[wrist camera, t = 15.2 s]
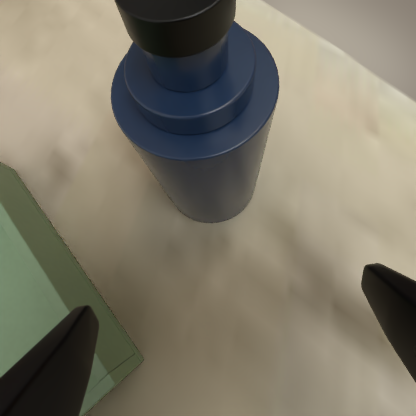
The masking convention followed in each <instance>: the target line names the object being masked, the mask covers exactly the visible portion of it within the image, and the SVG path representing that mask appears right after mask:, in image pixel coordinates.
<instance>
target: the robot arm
mask: <svg viewBox="0 0 416 416" xmlns="http://www.w3.org/2000/svg"><path fill="white" fill-rule="evenodd" d="M361 286H362V290H363V292H364V294H365V296H366V298H367V300H368V302H369V304H370V306H371V308H372V310H373V312H374V314H375V316H376V318H377V320H378V322H379V324H380V325H381V327H382V329H383V331H384V333H385V335H386V337H387V338H388V340H389V342H390V343H391V345H392V346H393V348H394V350H395V351H396V353H397V354H398V356H399V357H400V359H401V360H402V362H403V364H404V365H405V367H406V368H407V370H408V371H409V373H410V374H411V376H412V377H413V379H414V381H415V382H416V281H414V280H412V279H410V278H408V277H406V276H404V275H402V274H400V273H398V272H396V271H394V270H392V269H390V268H388V267H386V266H384V265H382V264H379V263H375V264H368V265H366V266H365V267H364V270H363V276H362V282H361ZM98 332H99V321H98V319H97V317H96V315H95V313H94V311H93V309H92V307H91V306H90V305H83V306H78V307H76V308H74V309H73V310H72V311H71V312H70V313H69V314H68V315H67V316H66V317H65V318H64V319H62V320H61V321H60V322H59V323H58V324H57V325H56V326H55V327H54V328H53V329H52V330H51V331H50V332H49V333H47V334H46V335H45V336H44V337H43V338H42V339H41V340H40V341H39V342H38V343H37V344H36V345H35V346H34V347H33V348H31V349H30V350H29V351H28V352H27V353H26V354H25V355H24V356H23V357H22V358H21V359H20V360H19V361H18V362H16V363H15V364H14V365H13V366H12V367H11V368H10V369H9V370H8V371H7V372H6V373H5V374H4V375H3V376H1V377H0V416H79V414H80V411H81V407H82V404H83V400H84V397H85V393H86V390H87V386H88V383H89V379H90V375H91V370H92V365H93V360H94V354H95V349H96V343H97V338H98Z"/></svg>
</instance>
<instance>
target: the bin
mask: <svg viewBox="0 0 416 416" xmlns="http://www.w3.org/2000/svg"><path fill="white" fill-rule="evenodd" d="M83 305H90V306H91V307H92V309H93V311H94V313H95V315H96V317H97V319H98V321H99V332H98V338H97V343H96V349H95V354H94V360H93V365H92V370H91V375H90V379H89V383H88V386H87V390H86V393H85V397H84V400H83V404H82V407H81V411H80V414H79V416H84V415H85V414H86V413H87V412H88V411H89V410H90V409H91V408H92V407H94V406H95V405H96V404H97V403H98V402H99V401H100V400H101V399H102V398H103V397H104V396H105V395H107V394H108V393H109V392H110V391H111V390H112V389H113V388H114V387H115V386H116V385H117V384H118V383H120V382H121V381H122V380H123V379H124V378H125V377H126V376H127V375H128V374H129V373H130V372H131V371H133V370H134V369H135V368H136V367H137V366H138V365H139V364H140V363H141V362H142V361H143V360H144V359H143V357H142V356H141V354H140V353H139V351H138V350H137V348H136V347H135V346H134V344H133V343H132V341H131V340H130V338H129V337H128V335H127V334H126V332H125V331H124V330H123V328H122V327H121V325H120V324H119V322H118V321H117V319H116V318H115V316H114V315H113V313H112V312H111V311H110V309H109V308H108V306H107V305H106V303H105V302H104V300H103V299H102V297H101V296H100V295H99V293H98V292H97V290H96V289H95V287H94V286H93V284H92V283H91V281H90V280H89V278H88V277H87V276H86V274H85V273H84V271H83V270H82V268H81V267H80V265H79V264H78V262H77V261H76V260H75V258H74V257H73V255H72V254H71V252H70V251H69V249H68V248H67V246H66V245H65V243H64V242H63V241H62V239H61V238H60V236H59V235H58V233H57V232H56V230H55V229H54V227H53V226H52V225H51V223H50V222H49V220H48V219H47V217H46V216H45V214H44V213H43V211H42V210H41V209H40V207H39V206H38V204H37V203H36V201H35V200H34V198H33V197H32V195H31V194H30V192H29V191H28V190H27V188H26V187H25V185H24V184H23V182H22V181H21V179H20V178H19V176H18V175H17V174H16V172H15V171H14V169H12V168H10V167H8V166H7V165H5V164H3V163H1V162H0V377H1V376H3V375H4V374H5V373H6V372H7V371H8V370H9V369H10V368H11V367H12V366H13V365H14V364H15V363H16V362H18V361H19V360H20V359H21V358H22V357H23V356H24V355H25V354H26V353H27V352H28V351H29V350H30V349H31V348H33V347H34V346H35V345H36V344H37V343H38V342H39V341H40V340H41V339H42V338H43V337H44V336H45V335H46V334H47V333H49V332H50V331H51V330H52V329H53V328H54V327H55V326H56V325H57V324H58V323H59V322H60V321H61V320H62V319H64V318H65V317H66V316H67V315H68V314H69V313H70V312H71V311H72V310H73V309H74V308H76V307H78V306H83Z"/></svg>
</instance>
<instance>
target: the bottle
mask: <svg viewBox="0 0 416 416" xmlns="http://www.w3.org/2000/svg"><path fill="white" fill-rule="evenodd" d="M115 3H116V5H117V7H118V10H119V12H120V15H121V17H122V20H123V22H124V25H125V27H126V29H127V32H128V34H129V36H130V38H131V39H132V40H133V43H132V45H131V46H130V49H129V51H128V53H127V54H126V55H125V56H124V58H123V59H122V61H121V62H120V64H119V66H118V68H117V70H116V72H115V75H114V78H113V82H112V88H111V103H112V109H113V113H114V117H115V119H116V121H117V123H118V125H119V127H120V128H121V130H122V131H123V133H124V134H125V136H126V137H127V138H128V140H129V141H130V143H131V144H132V145H133V147H134V148H135V150H136V151H137V152H138V154H139V155H140V157H141V158H142V159H143V161H144V162H145V164H146V165H147V166H148V168H149V169H150V171H151V172H152V174H153V175H154V176H155V178H156V179H157V181H158V182H159V183H160V185H161V186H162V188H163V189H164V190H165V192H166V193H167V195H168V196H169V197H170V199H171V200H172V202H173V203H174V204H175V206H176V207H177V208H178V209H179V211H180V212H182V213H183V214H184V215H186V216H187V217H189V218H191V219H193V220H195V221H199V222H204V223H218V222H222V221H225V220H228V219H230V218H232V217H234V216H236V215H237V214H239V213H240V212H241V211H242V210H243V209H244V208H245V207H246V206H247V204H248V203H249V201H250V200H251V198H252V195H253V192H254V189H255V185H256V181H257V177H258V173H259V169H260V165H261V162H262V158H263V154H264V150H265V146H266V142H267V138H268V134H269V130H270V127H271V123H272V119H273V115H274V111H275V107H276V103H277V99H278V94H279V75H278V70H277V67H276V64H275V61H274V59H273V57H272V55H271V53H270V51H269V50H268V49H267V48H266V46H265V45H264V44H263V43H262V42H261V41H260V40H259V39H258V38H257V37H256V36H254V35H253V34H252V33H250V32H249V31H247V30H245V29H243V28H242V27H241V26H240V25H239V24H237V23H236V22H235V21H233V20H234V17H235V10H236V0H115Z"/></svg>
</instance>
